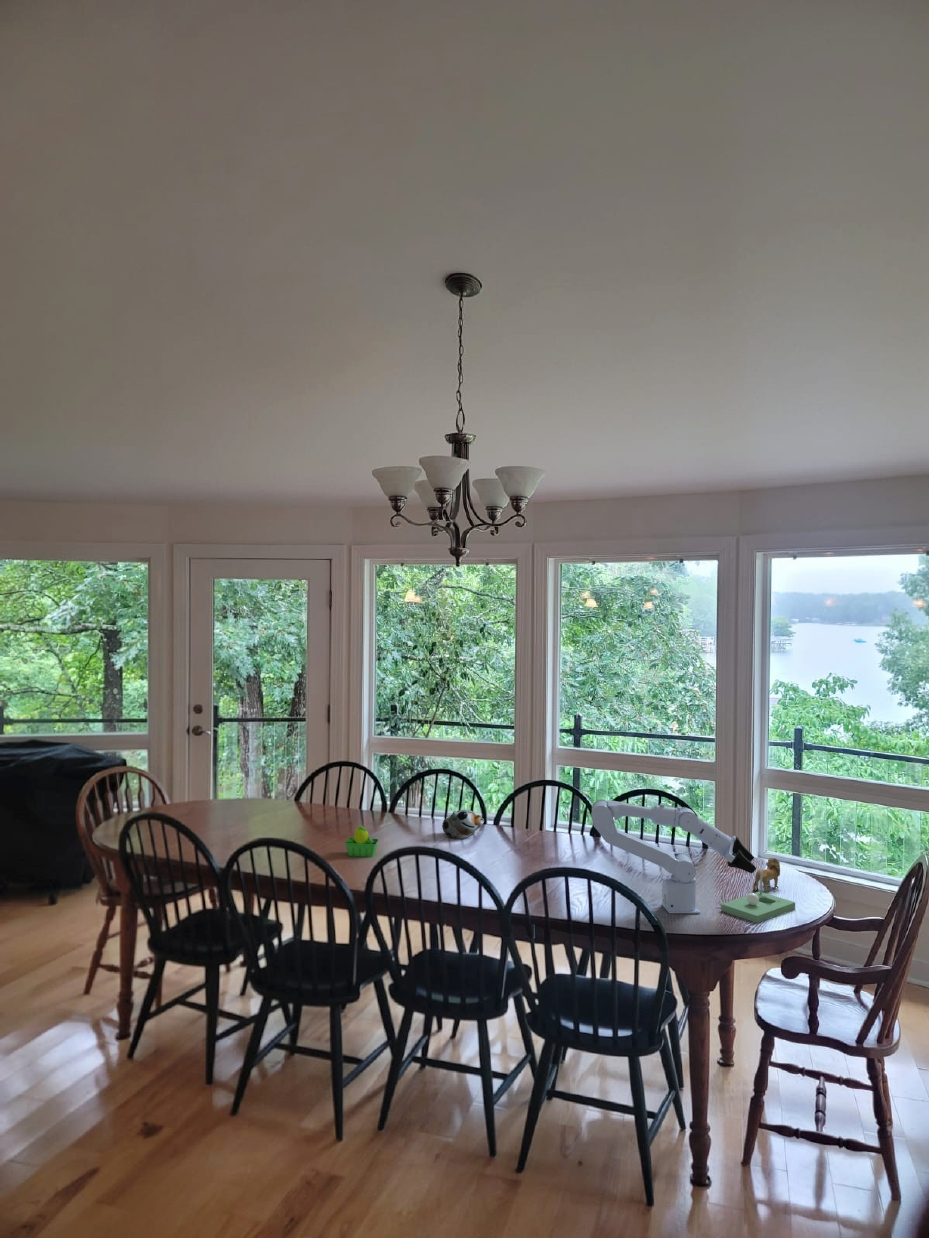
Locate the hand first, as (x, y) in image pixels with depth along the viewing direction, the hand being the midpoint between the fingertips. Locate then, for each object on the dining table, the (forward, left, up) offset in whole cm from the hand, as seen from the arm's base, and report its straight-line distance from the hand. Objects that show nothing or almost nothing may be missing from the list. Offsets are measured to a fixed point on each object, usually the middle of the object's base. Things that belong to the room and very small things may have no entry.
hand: (753, 865), depth 229 cm
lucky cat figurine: (-83, +88, -15) cm, 122 cm away
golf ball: (+1, +2, -11) cm, 11 cm away
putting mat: (+3, +4, -15) cm, 15 cm away
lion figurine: (+14, +24, -15) cm, 32 cm away
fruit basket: (-122, +60, -15) cm, 136 cm away
